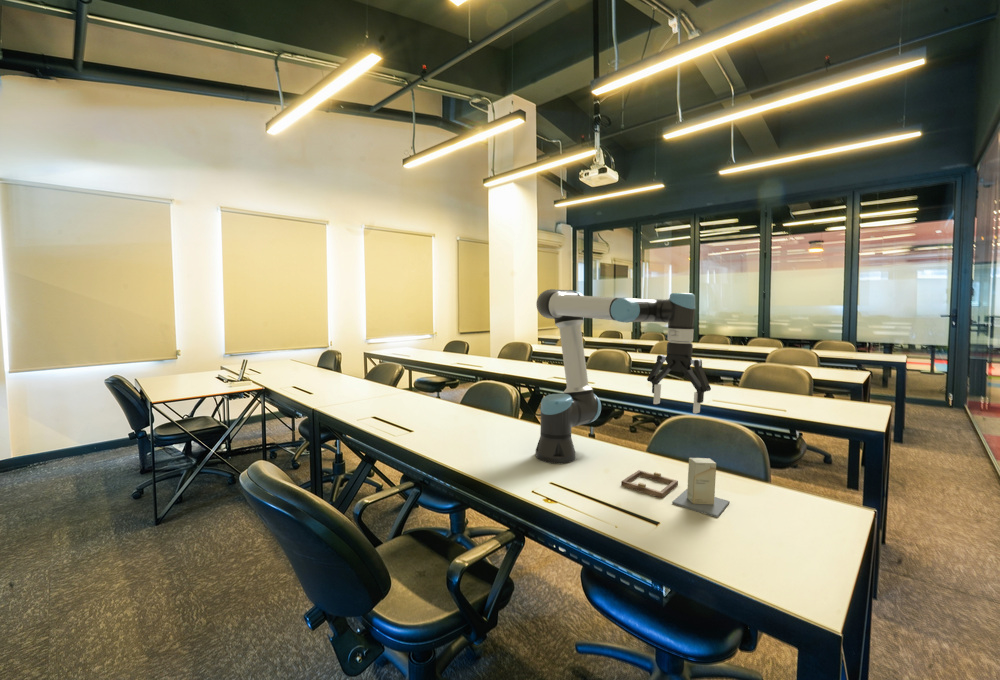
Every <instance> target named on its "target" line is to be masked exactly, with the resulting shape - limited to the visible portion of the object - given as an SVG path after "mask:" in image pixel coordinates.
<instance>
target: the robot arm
mask: <svg viewBox="0 0 1000 680" xmlns="http://www.w3.org/2000/svg"><path fill="white" fill-rule="evenodd" d="M696 308H697V307H696V295H695V294H694V293H688V292H674V293H670V295H669V298H667V299H666V298H665V299H662V298H661V299H659V298H658V299H657V298H654V299H653V298H652V299H651V298H636V297H634V298H633V297H612V296H611V297H610V296H595V295H594V296H593V295H584V294H583V293H582V292H580V291H577V290H573V289H553V288H551V289H545V290H544V291H543V292H541V293H539V295H538V296H537V299H536V309H537V311H538V313H539V314H540V315H541V316H542V317H544V318H545V319H549V320H551V319H552V320H553V319H554V325H555V327H557V328H558V329H559V336H560V344H561V352H562V360H563V367H564V374H565V381H566V382H565V383H566V388H565V389H564V391H563V393H561V392H560V393H552V394H547V395H545V396H544V397H542V399H541V401H540V402H541V403H540V408H539V409H540V435H539V438H538V442H537V444H536V448H535V458H536V459H537V460H539V461H541V462H544V463H548V464H555V465H556V464H568V463H569V464H570V463H571V462H575V460H576V455H577V453H576V449H575V446H574V443H573V439H572V438H573V437H572V429H573V428H575V427H577V426H581V425H588V424H591V423H592V422H594V421H596V420H597V419H598V418H599V417H600V415H601V411H602V403H601V400H600V398H599V397H598V396H597V395H596V394H595V393H594V388H592V387H591V386H590V384H589V380H588V379H589V378H588V370H587V364H586V363H587V362H586V357H585V356H586V355H585V350H584V349H585V348H584V342H583V334H582V325H583V323H584V318H585V319H595V320H596V319H597V320H606V321H616V322H619V323H665V324H666V323H667V337H666V338H667V341H668V342H667V343H666V355H664V354H658V355H657V357H656V361H655V364H654V365H653V367H652V369H651V371H650V372H649V374H648V376H647V378H646V380H647V381H648V382H650V383H651V384H652V386H651V393H652V394H653V402H652V403H653V405H658V404H660V403H661V393H662V392H661V390H662V384H661V381H662V380H663V379H664V378H665V377H666V376H667V375H668V374H669V373H670V372H671V371H672V372H678V373H683V374H684V375H686V377H687V378H688V380H689V381H690V383H691V384H692V386H693V387H694V389H695V390H696V391H694V392H693V405H692V406H693V407H692V413H693V414H695V415H696V414H698V413H700V412H701V404H702V403H704V399H705V398H704V397H705V393H706V392H710V391H711V385H710V382H709V381H708V378H707V375H706V373H705V370H704V368H703V360H702V359H700V358H699V359H698V358H697V359H693V358H692V356H693V350H694V349H693V347H694V345H693V343H692V342H693V341H694V333H695V332H694V330H695V314H696V313H695V312H696ZM665 362H666V365H664V367H663V364H664V363H665ZM691 365H692V366H693V367H694V369H693V368H692V366H691ZM662 367H663V369H662V370H661V368H662ZM693 370H694V371H695V373H696V374H695V373H694V371H693Z"/></svg>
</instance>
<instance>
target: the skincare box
mask: <svg viewBox="0 0 1000 680" xmlns="http://www.w3.org/2000/svg"><path fill="white" fill-rule="evenodd" d="M687 469H688V473H687V488H686V489H687V498H688V499H689V500H690V501H691V502H692V503H693V504H709V505H714V497H716V496H715V495H716V494H715V493H716V479H717V478H716V477H717V462H715V461H714V460H713V459H711V458H709V457H708V458H707V457H706V458H705V457H689V458H688V468H687Z"/></svg>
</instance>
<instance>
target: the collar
mask: <svg viewBox="0 0 1000 680" xmlns="http://www.w3.org/2000/svg"><path fill="white" fill-rule="evenodd" d="M640 477H642V478H647V479H650V480H653V481H657V482H661V483H664V484H667V485H666V486H665V487H664V488H663V489H661V490H656V489H653V488H650V487H647V486H646V484H645V483H642V482H639V483H633V482H634V481H635V480H637V479H638V478H640ZM620 483H621V484H620V486H621V487H624V488H628V489H631V490H634V491H636V492H641V493H644V494H647V495H650V496H653V497H656V498H660V499H663V498H664V497H666V496H667V495H668V494H669V493H671V492H672V491H673V490H674V489H676V488H677V487H679V486H678V485H679V481H678V480H677V479H673V478H670V477H665V476H663V475H662V473H659V472H656V471H655V472H653V473H652V472H647V471H643V470H639V469H638V470H636V471H635V472H634V473H632V474H630V475H629V476H627V477H626V478H624V479H623V480H621V481H620Z"/></svg>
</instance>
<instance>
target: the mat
mask: <svg viewBox="0 0 1000 680" xmlns="http://www.w3.org/2000/svg"><path fill="white" fill-rule="evenodd" d="M671 503H672V505H675V506H679V507H682V508H685V509H688V510H691V511H694V512H697V513H701V514H705V515H707V516H711V517H713V518H719V516H720V515H722V513H723V512H724V511H725V510H726V508H727V506H728V505H729V504H730V501H729V500H727V499H725V498H724V499H723V498H720V497H716V496H715V497H714V505H709V504H693V503H692V502H691V501H690V500H689V499H688V498H687V488H686V489H685V490H684V491H683V492H681V493H680V495H678V496H677V497H676V498H675V499H674V500H673V501H671Z"/></svg>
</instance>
